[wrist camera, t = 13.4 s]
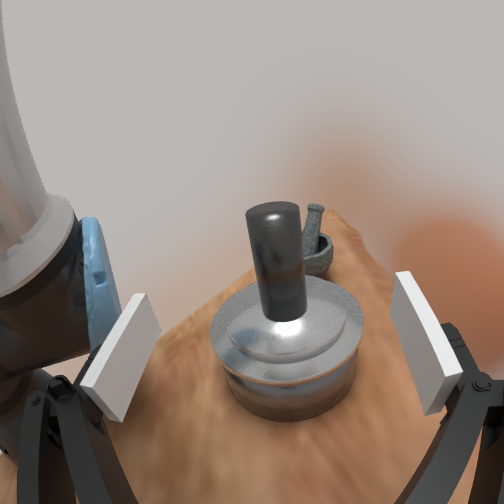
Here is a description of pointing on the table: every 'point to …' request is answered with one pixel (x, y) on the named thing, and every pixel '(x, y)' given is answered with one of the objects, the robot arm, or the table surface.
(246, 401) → the cooker pot
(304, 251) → the mortar and pestle
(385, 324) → the table surface
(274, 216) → the steel lid
